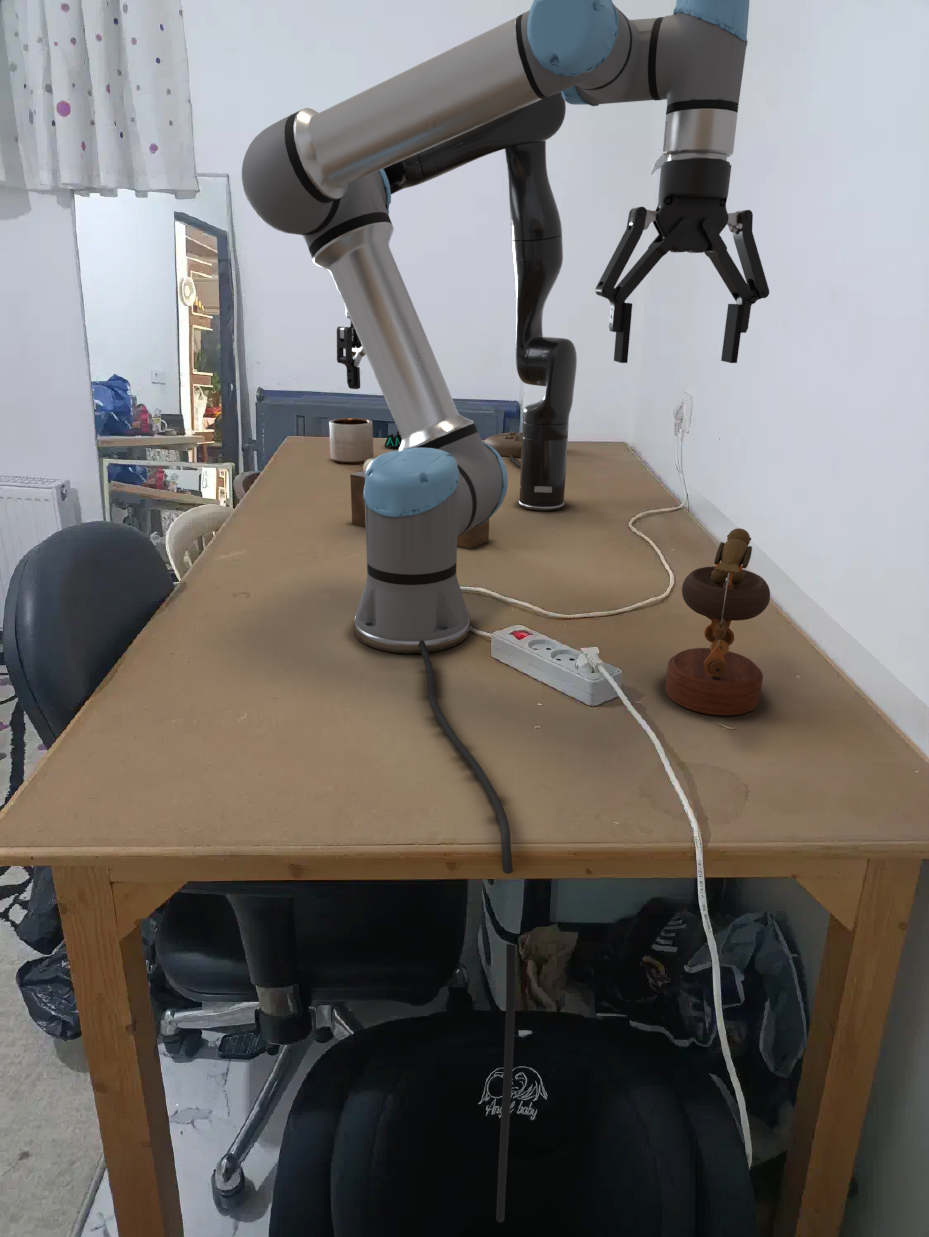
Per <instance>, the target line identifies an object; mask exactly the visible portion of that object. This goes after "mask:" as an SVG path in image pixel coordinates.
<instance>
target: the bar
mask: <svg viewBox="0 0 929 1237" xmlns="http://www.w3.org/2000/svg"><path fill="white" fill-rule="evenodd" d="M365 472H366V470H365V471H364V470H362V471H358V472H354V473H351V474H349V475H350V476H349V478H350V502H351V503H350V504H351V507H350V508H351V525H356V526H361V527H365V528H366V523H365V501H364V497H363V491H364V486H365ZM489 541H490V518H489V519H488V520H487V521H486V522H484V523H483V524H481V525H478V526H476V527H473V528H472V529H470V530H468V531H467V532H465V533H464V534H462V535H461V536H459V537H457V547H462V548H465V549H471V550H472V549H474V548H476V547H479V546H482V545H483V544H485V543H488V542H489Z"/></svg>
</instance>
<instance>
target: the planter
mask: <svg viewBox="0 0 929 1237" xmlns="http://www.w3.org/2000/svg"><path fill="white" fill-rule="evenodd" d="M328 424H329V425H328V426H329V453H330V454H329V455H330V456H329V457H330V459H331V460H332V461H333V462H335V463H341V464H364V463H365V461H366V460H368V459H374V456H375V455H374V452H375V451H374V450H375V449H374V430H373V429H374V428H373V420H371V419H369V418H362V417H361V418H360V417H342V418H341V417H340V418H335V419H334V418H333V419H331V420H329V421H328Z"/></svg>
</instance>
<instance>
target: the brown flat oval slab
mask: <svg viewBox="0 0 929 1237" xmlns="http://www.w3.org/2000/svg"><path fill="white" fill-rule="evenodd" d="M483 442H484V443H486V444H488V445H489V446H491V447H493V448H494V449H495V450H496V451H497V452H498V453H499V455H500V456H501V457H502V456H503V457H510V454H513V458H515V457H517V458H521V449H522V431H521V432H518V433H517V432H516V431H511V432H502V433H498V434H493V435H490V436H488V437H487V438H485V439H484V441H483Z"/></svg>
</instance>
